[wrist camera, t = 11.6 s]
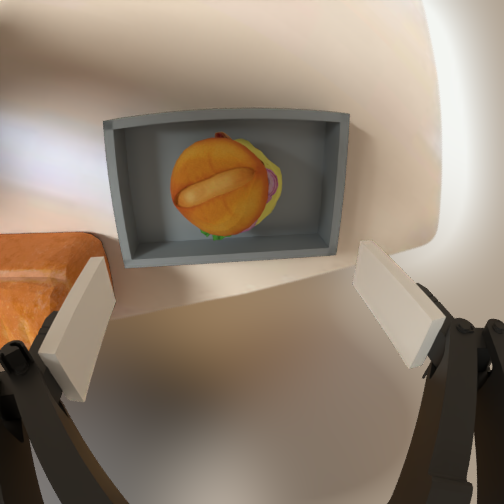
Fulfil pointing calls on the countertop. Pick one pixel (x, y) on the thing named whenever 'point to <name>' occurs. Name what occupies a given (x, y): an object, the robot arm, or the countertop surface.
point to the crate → (235, 126)
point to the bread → (39, 278)
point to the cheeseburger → (224, 185)
